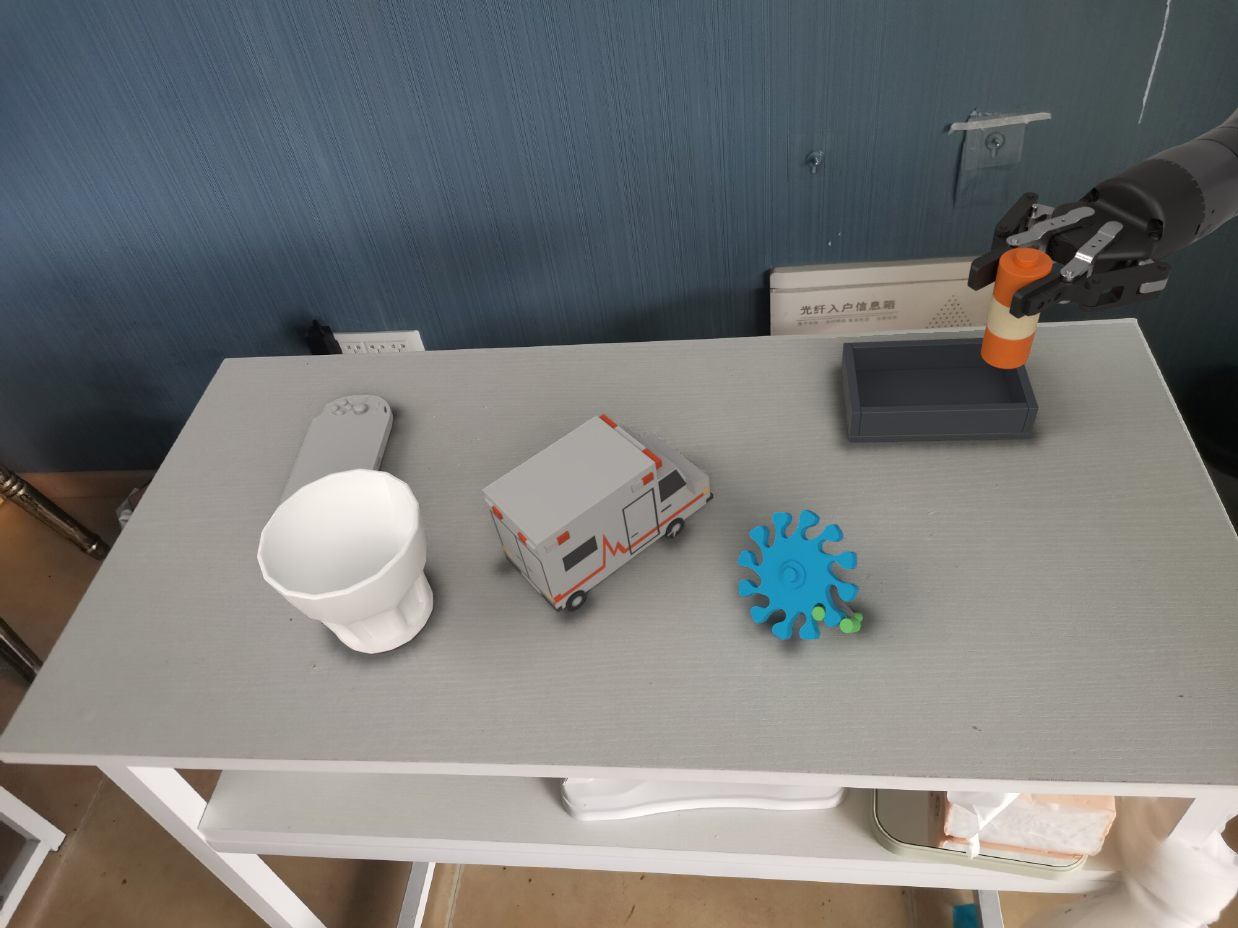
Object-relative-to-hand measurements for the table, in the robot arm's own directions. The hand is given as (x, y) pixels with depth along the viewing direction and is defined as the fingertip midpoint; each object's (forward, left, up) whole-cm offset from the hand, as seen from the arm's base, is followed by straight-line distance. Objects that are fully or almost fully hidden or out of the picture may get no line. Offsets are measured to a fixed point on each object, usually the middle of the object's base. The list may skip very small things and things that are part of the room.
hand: (994, 292), depth 65 cm
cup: (+31, +41, -18) cm, 55 cm away
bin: (+5, -5, -18) cm, 19 cm away
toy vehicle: (+20, +24, -18) cm, 36 cm away
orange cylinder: (-1, -3, -8) cm, 8 cm away
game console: (+47, +33, -18) cm, 60 cm away
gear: (+3, +21, -18) cm, 28 cm away
